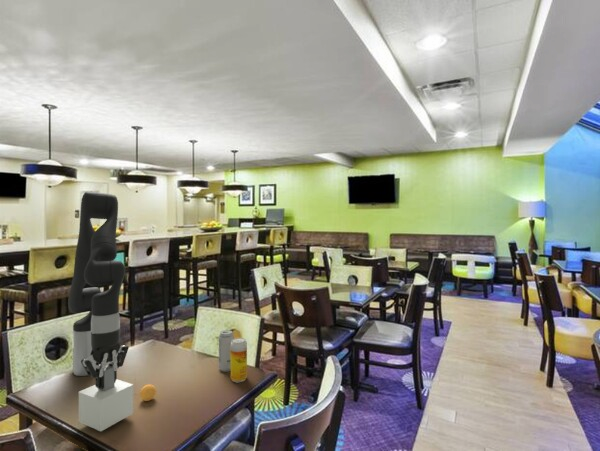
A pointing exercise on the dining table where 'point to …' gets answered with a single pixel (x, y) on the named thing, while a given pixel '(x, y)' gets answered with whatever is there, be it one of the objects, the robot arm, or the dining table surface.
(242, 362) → the yellow white cylinder
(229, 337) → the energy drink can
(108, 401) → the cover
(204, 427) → the dining table surface
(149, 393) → the ball
